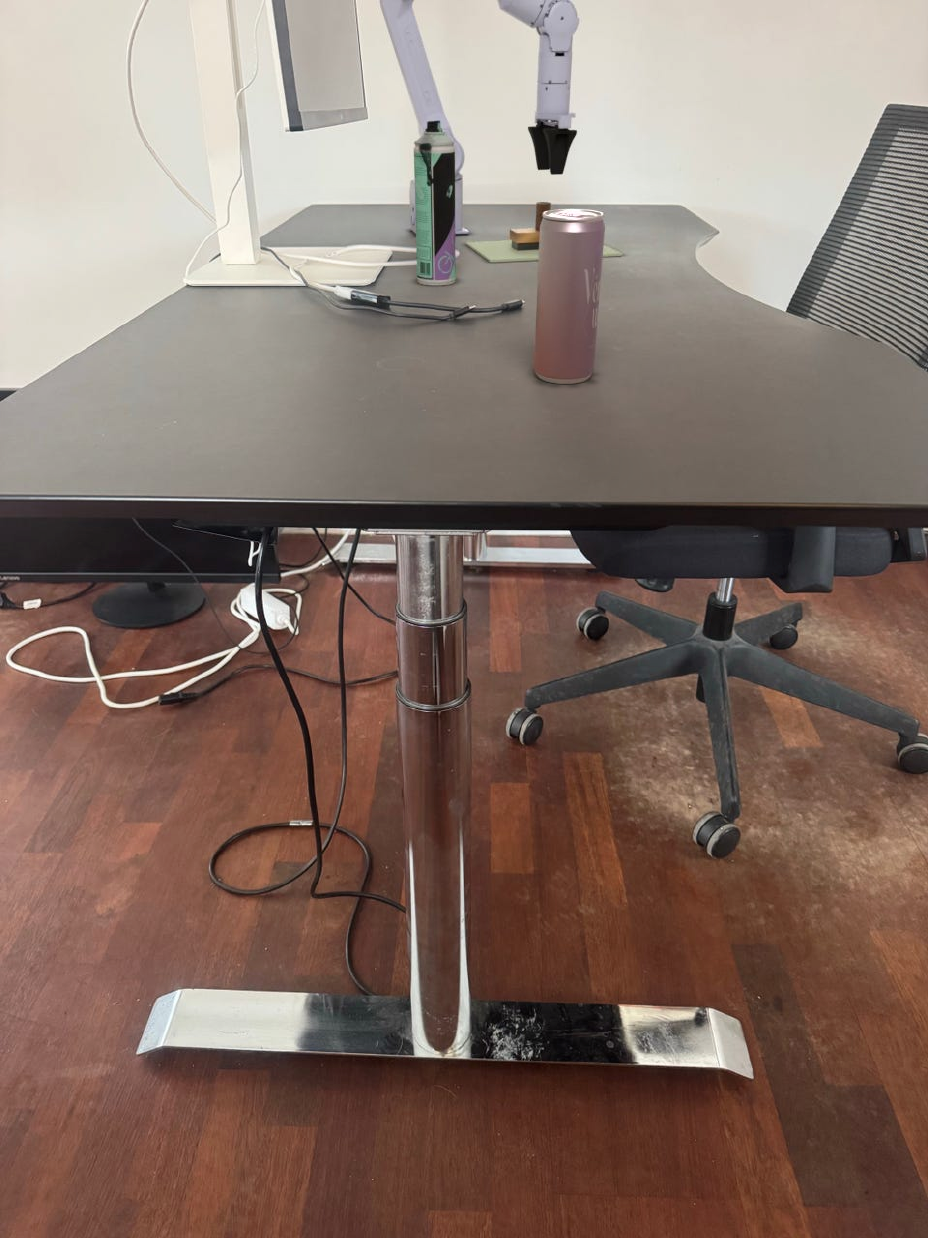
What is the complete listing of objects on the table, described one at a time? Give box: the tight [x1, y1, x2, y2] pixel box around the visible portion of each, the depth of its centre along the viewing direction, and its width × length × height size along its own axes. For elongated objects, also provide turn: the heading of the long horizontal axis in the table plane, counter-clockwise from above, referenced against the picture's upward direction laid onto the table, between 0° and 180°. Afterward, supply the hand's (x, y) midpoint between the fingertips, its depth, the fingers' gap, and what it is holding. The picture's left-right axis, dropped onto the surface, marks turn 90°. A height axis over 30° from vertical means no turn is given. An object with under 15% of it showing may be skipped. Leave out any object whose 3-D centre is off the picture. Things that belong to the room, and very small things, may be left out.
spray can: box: [413, 121, 457, 286], centre depth 119 cm, size 6×6×20 cm
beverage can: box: [533, 208, 606, 385], centre depth 84 cm, size 6×6×15 cm
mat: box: [465, 239, 623, 264], centre depth 144 cm, size 22×16×1 cm
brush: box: [509, 201, 552, 251], centre depth 142 cm, size 10×4×7 cm, turn 104°
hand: (549, 171), depth 157 cm, fingers open, 7 cm apart
